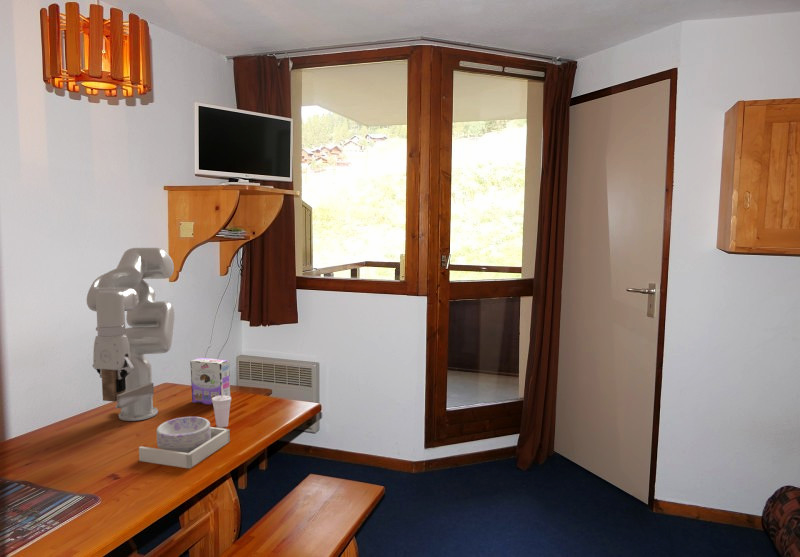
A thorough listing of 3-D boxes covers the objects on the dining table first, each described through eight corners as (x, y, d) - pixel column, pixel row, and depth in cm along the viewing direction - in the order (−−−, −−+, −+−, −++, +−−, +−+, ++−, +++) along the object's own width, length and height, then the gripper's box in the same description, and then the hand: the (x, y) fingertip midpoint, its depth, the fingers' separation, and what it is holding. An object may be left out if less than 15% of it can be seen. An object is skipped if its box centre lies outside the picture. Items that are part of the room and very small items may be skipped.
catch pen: (139, 460, 163) (138, 447, 163) (183, 435, 182) (183, 423, 182) (189, 468, 159) (189, 454, 158) (229, 441, 178) (229, 429, 177)
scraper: (90, 405, 166) (88, 372, 165) (125, 391, 180) (123, 361, 179) (120, 408, 163) (119, 374, 162) (153, 394, 177) (152, 363, 176)
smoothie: (235, 422, 194) (234, 383, 192) (227, 429, 188) (226, 388, 186) (217, 421, 195) (216, 382, 193) (209, 428, 188) (207, 388, 187)
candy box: (231, 401, 216) (230, 359, 214) (221, 406, 210) (220, 363, 208) (201, 397, 220) (200, 356, 218) (191, 402, 215) (189, 360, 213)
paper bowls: (160, 465, 161) (159, 438, 160) (154, 446, 174) (153, 421, 173) (215, 454, 168) (214, 428, 167) (206, 436, 181) (205, 413, 181)
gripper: (78, 332, 169) (81, 391, 171) (125, 335, 165) (128, 396, 166) (98, 327, 176) (100, 385, 178) (143, 330, 172) (146, 389, 174)
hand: (114, 389), depth 172 cm, fingers closed on scraper, 4 cm apart
